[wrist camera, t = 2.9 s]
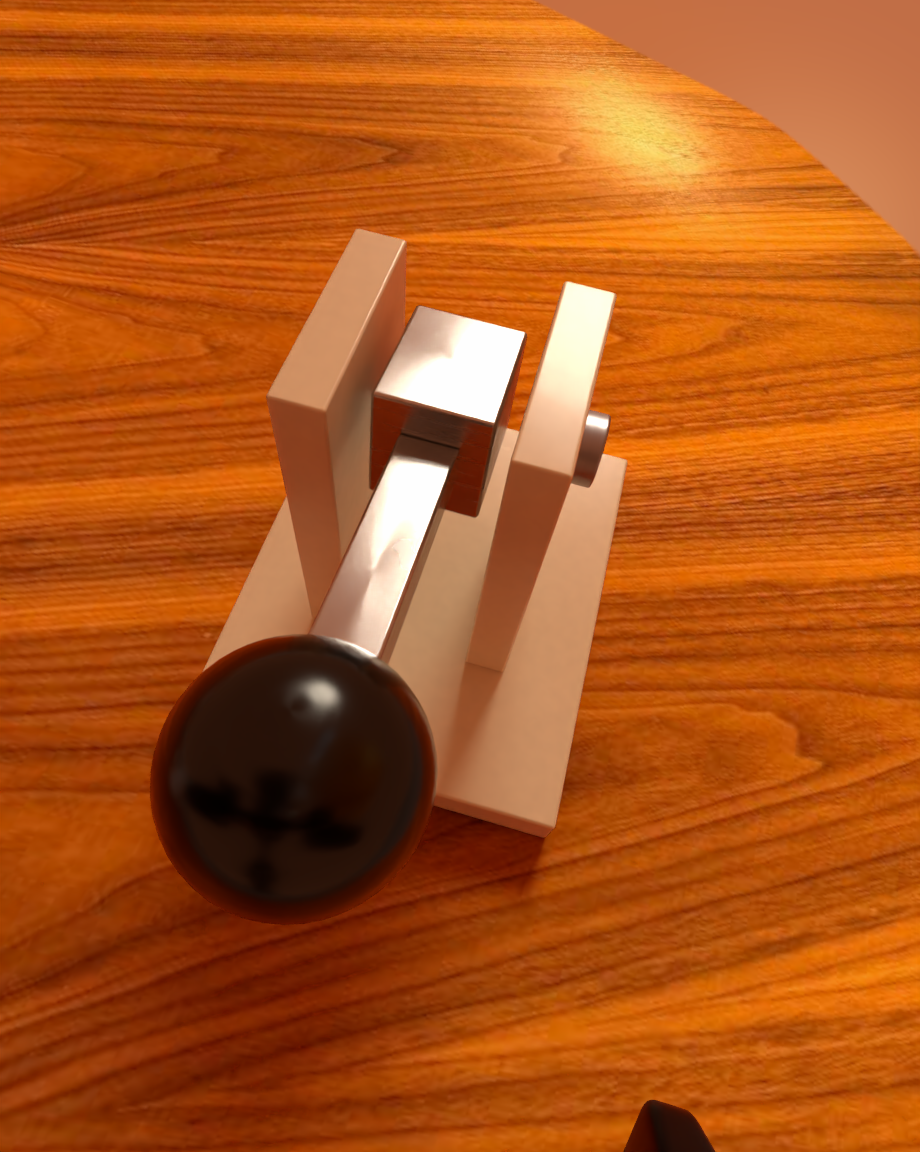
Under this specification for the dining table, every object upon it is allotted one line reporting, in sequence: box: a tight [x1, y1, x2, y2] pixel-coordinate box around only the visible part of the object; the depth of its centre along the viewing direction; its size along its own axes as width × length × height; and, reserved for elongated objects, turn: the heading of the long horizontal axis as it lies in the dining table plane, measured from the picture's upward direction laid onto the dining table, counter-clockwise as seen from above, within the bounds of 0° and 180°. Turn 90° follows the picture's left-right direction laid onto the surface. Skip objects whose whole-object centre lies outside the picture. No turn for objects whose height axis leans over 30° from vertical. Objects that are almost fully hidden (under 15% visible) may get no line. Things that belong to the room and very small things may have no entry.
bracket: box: [203, 229, 627, 838], centre depth 17 cm, size 11×9×9 cm
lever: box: [150, 305, 527, 925], centre depth 12 cm, size 11×4×4 cm, turn 165°
